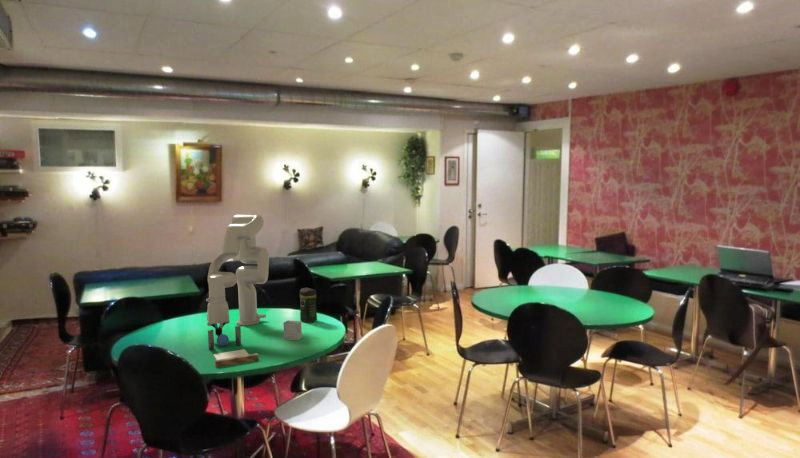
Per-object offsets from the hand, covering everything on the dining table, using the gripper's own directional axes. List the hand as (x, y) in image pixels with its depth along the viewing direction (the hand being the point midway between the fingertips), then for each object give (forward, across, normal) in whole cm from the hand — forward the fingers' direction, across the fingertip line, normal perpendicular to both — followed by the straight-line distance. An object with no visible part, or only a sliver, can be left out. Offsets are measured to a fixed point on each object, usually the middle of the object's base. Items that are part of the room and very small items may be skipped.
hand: (218, 335), depth 273 cm
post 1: (+2, -6, -15) cm, 16 cm away
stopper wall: (+2, 0, -41) cm, 41 cm away
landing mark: (+2, 0, -31) cm, 31 cm away
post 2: (+2, +6, -15) cm, 16 cm away
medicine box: (+2, +32, -19) cm, 37 cm away
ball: (-1, 0, -12) cm, 13 cm away
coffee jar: (+2, +50, +9) cm, 51 cm away
